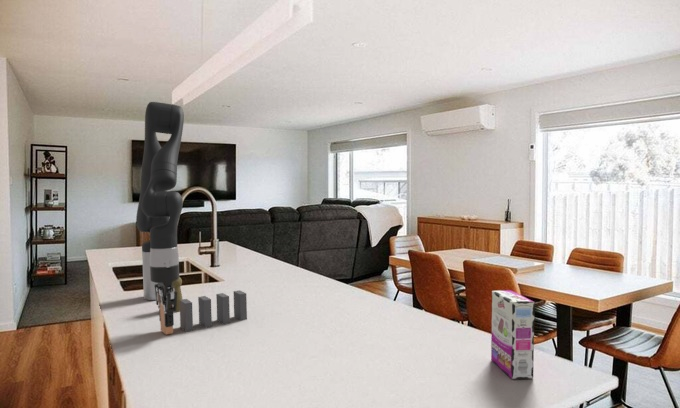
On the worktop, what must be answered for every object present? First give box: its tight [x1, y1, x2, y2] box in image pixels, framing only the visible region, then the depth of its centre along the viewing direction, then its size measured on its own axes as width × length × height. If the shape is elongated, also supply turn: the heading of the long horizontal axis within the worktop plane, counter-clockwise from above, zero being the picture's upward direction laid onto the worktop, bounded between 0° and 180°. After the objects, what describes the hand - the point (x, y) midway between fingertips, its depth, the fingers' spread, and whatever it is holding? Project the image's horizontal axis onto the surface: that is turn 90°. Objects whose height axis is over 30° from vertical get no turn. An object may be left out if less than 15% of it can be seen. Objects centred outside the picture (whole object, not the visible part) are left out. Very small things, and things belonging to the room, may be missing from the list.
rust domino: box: [159, 301, 174, 335], centre depth 130 cm, size 5×2×8 cm, turn 36°
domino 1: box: [179, 298, 194, 332], centre depth 133 cm, size 5×2×8 cm, turn 36°
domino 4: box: [232, 289, 248, 321], centre depth 143 cm, size 5×2×8 cm, turn 36°
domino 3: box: [215, 292, 231, 325], centre depth 140 cm, size 5×2×8 cm, turn 36°
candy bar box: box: [490, 289, 535, 380], centre depth 102 cm, size 11×5×16 cm, turn 5°
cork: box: [172, 276, 184, 314], centre depth 153 cm, size 6×6×11 cm
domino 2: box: [197, 295, 213, 329], centre depth 136 cm, size 5×2×8 cm, turn 36°
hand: (166, 323), depth 130 cm, fingers closed on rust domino, 4 cm apart
